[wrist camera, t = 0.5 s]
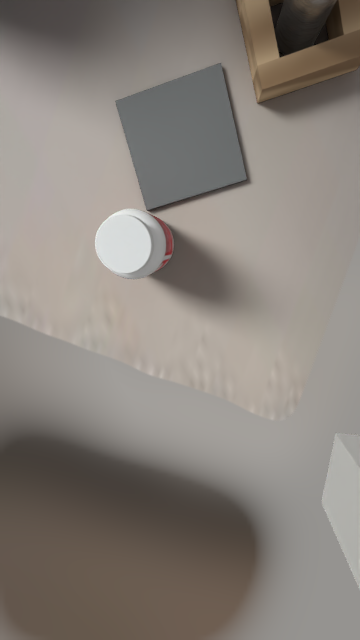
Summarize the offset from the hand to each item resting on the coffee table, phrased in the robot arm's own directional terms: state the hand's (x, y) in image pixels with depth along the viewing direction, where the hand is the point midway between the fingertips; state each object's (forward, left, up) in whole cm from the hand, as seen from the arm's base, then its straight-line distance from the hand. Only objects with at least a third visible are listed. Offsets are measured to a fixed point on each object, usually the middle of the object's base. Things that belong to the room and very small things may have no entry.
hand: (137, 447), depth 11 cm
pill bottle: (-8, -2, -28) cm, 29 cm away
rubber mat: (-17, +4, -28) cm, 33 cm away
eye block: (-23, +17, -28) cm, 40 cm away
